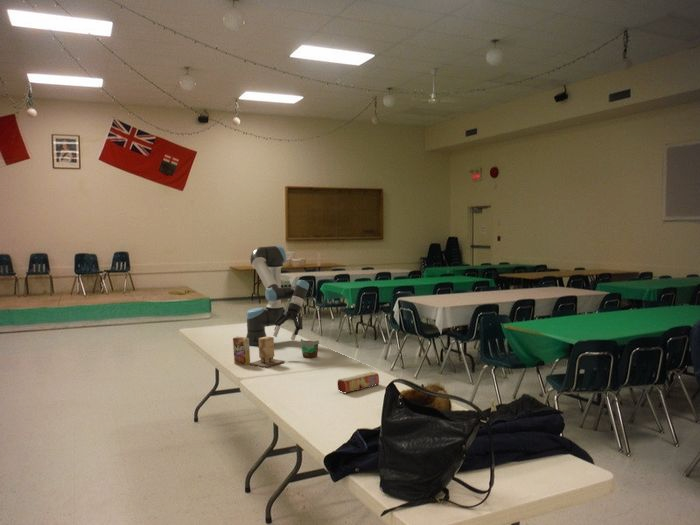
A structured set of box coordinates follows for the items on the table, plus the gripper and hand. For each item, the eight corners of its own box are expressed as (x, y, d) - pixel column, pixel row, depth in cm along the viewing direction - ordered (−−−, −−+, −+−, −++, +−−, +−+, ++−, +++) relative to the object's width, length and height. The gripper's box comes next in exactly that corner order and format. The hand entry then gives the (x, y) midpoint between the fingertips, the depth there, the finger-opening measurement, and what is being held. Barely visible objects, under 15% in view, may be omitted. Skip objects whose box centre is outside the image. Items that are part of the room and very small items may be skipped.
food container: (296, 357, 326) (295, 340, 325) (302, 355, 331) (301, 338, 330) (314, 359, 320) (313, 342, 319) (319, 356, 325) (319, 340, 325)
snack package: (371, 382, 270) (371, 369, 270) (380, 385, 265) (380, 371, 265) (336, 392, 257) (336, 378, 257) (345, 395, 252) (344, 380, 252)
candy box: (233, 364, 316) (232, 337, 315) (238, 362, 320) (237, 336, 318) (245, 365, 311) (244, 338, 310) (250, 363, 315) (249, 337, 314)
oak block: (259, 357, 313) (258, 338, 312) (266, 355, 317) (266, 336, 317) (267, 358, 309) (266, 339, 308) (274, 356, 314) (273, 337, 313)
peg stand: (249, 365, 312) (249, 358, 312) (267, 359, 323) (266, 352, 323) (267, 368, 304) (267, 361, 303) (284, 362, 315) (284, 355, 315)
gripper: (276, 300, 334) (263, 332, 327) (308, 304, 320) (296, 339, 313) (283, 305, 340) (271, 337, 332) (315, 309, 326) (303, 343, 319)
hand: (283, 338), depth 323 cm, fingers open, 13 cm apart
